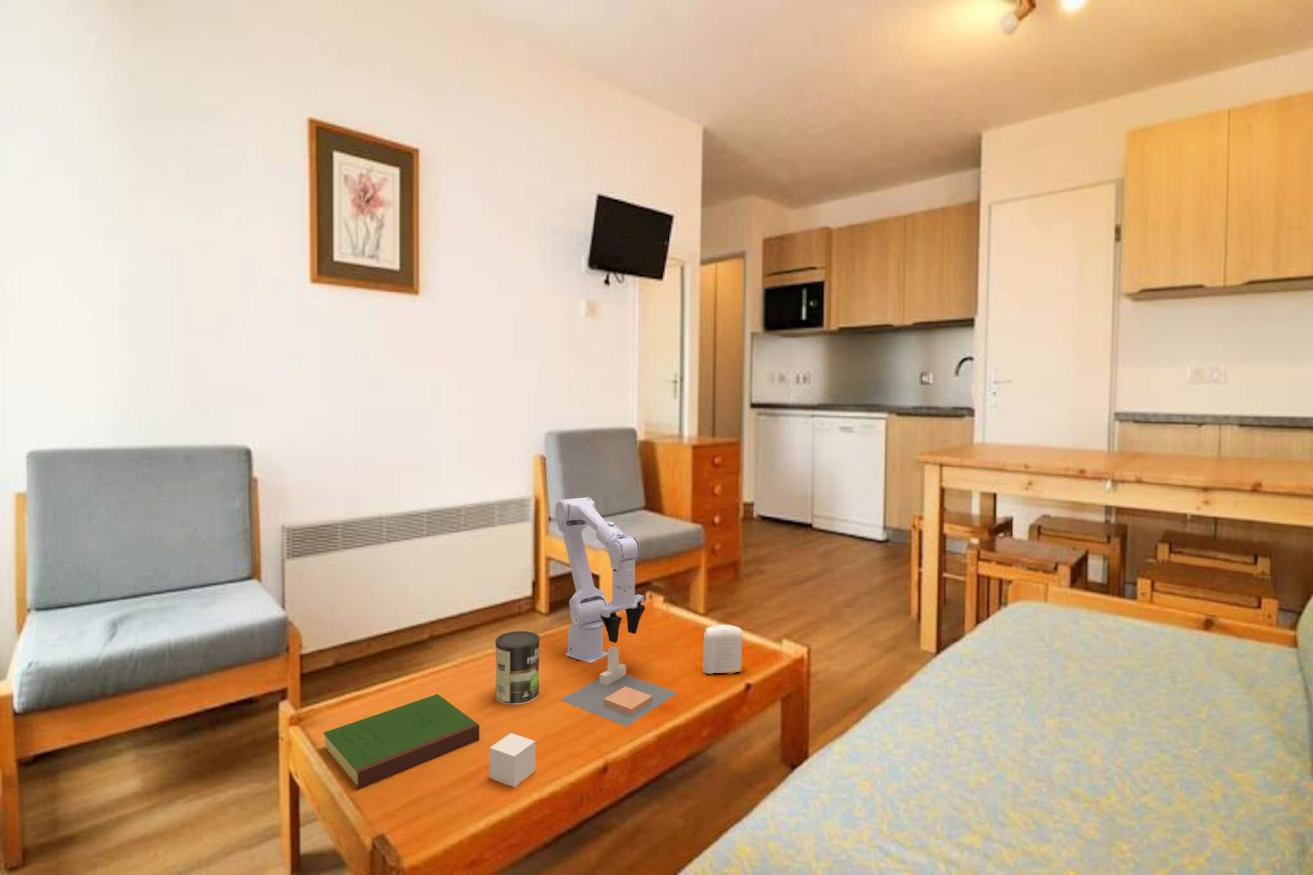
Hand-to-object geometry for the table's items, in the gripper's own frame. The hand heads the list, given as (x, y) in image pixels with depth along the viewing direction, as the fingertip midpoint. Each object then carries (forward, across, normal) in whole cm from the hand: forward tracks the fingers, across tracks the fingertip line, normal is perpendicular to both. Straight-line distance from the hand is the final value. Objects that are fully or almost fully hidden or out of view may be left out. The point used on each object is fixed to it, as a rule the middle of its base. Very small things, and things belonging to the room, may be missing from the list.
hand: (622, 637), depth 163 cm
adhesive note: (+11, -45, -10) cm, 48 cm away
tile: (+9, -11, -7) cm, 16 cm away
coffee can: (+11, -24, +13) cm, 29 cm away
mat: (+10, -9, -7) cm, 16 cm away
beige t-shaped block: (+10, -4, 0) cm, 11 cm away
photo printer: (+11, +19, -19) cm, 28 cm away
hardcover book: (+11, -52, +15) cm, 55 cm away
